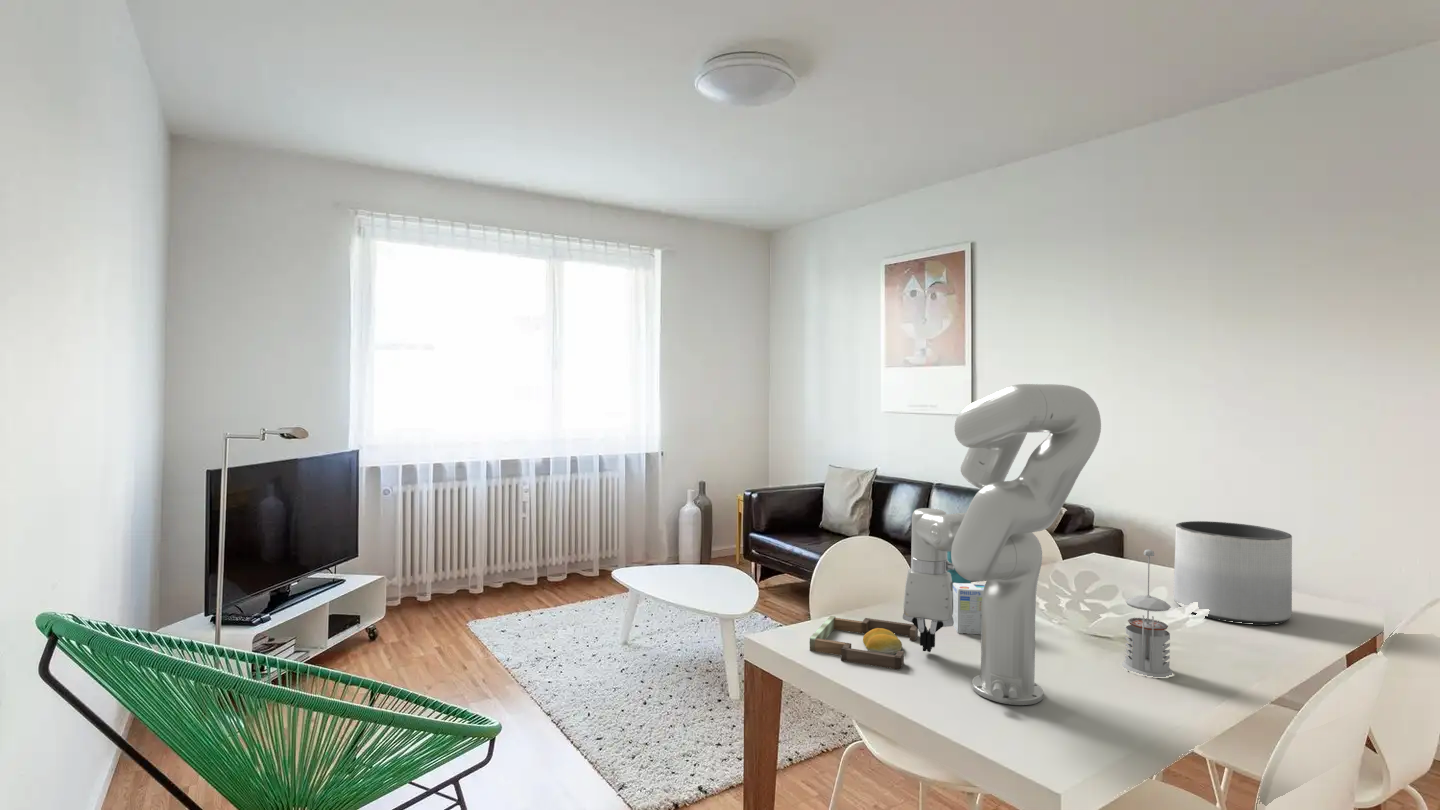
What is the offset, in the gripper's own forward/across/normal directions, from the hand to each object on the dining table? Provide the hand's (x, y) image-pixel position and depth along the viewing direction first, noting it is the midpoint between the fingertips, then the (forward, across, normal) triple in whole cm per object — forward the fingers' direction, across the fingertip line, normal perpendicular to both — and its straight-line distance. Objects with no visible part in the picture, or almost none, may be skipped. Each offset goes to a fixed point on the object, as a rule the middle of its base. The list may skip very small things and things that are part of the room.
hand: (927, 649), depth 155 cm
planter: (+1, -69, -67) cm, 96 cm away
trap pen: (+1, +14, 0) cm, 14 cm away
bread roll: (+2, +10, 0) cm, 10 cm away
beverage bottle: (+1, -3, -40) cm, 40 cm away
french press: (+1, -43, -10) cm, 44 cm away
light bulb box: (+1, -9, -22) cm, 24 cm away
